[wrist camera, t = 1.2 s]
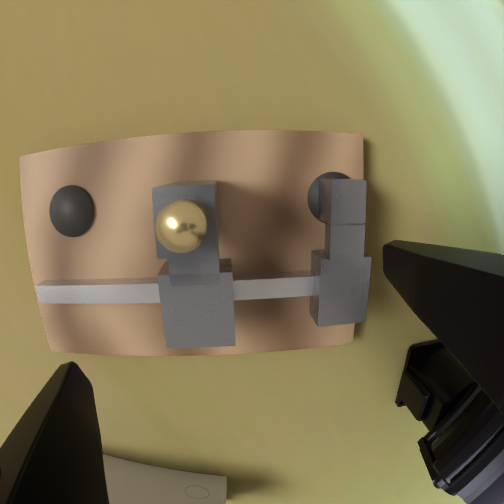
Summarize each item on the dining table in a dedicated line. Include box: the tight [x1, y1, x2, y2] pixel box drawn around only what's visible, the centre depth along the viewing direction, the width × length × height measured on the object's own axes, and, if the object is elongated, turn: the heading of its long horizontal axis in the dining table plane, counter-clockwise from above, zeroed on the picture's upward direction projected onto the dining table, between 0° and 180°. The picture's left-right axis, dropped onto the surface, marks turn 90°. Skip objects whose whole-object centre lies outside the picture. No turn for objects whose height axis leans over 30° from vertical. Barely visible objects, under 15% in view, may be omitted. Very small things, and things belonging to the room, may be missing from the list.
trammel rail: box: [36, 178, 372, 327], centre depth 18 cm, size 20×8×3 cm, turn 91°
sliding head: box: [152, 180, 236, 348], centre depth 15 cm, size 4×8×7 cm, turn 1°
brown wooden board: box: [19, 130, 363, 356], centre depth 19 cm, size 22×14×1 cm, turn 91°
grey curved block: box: [103, 454, 227, 504], centre depth 21 cm, size 17×5×10 cm, turn 77°
